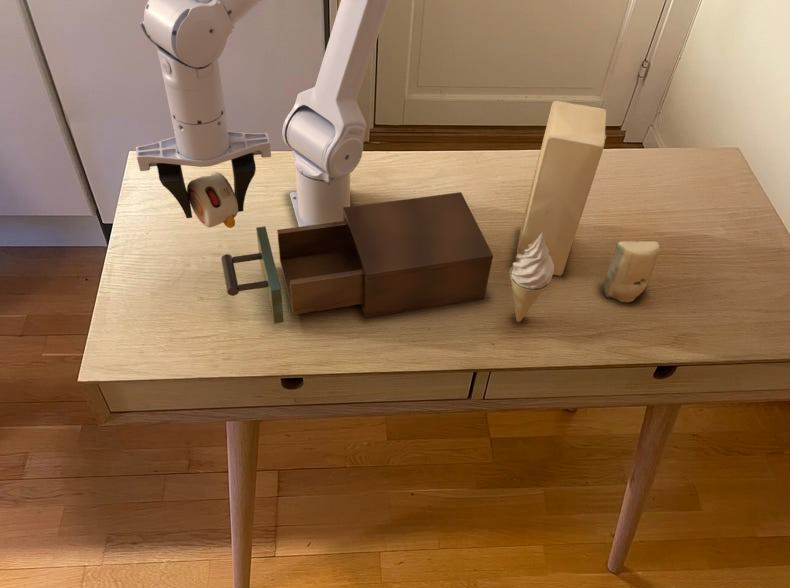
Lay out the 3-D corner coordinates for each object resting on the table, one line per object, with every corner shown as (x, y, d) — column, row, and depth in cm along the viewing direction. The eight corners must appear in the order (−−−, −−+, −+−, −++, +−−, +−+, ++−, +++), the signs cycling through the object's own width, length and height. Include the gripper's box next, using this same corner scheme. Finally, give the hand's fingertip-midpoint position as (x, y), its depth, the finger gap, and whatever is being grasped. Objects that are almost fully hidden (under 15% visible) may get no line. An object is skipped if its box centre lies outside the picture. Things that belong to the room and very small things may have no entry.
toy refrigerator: (567, 278, 102) (610, 146, 86) (514, 268, 103) (546, 135, 86) (571, 240, 107) (612, 108, 91) (520, 231, 108) (551, 98, 91)
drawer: (233, 330, 91) (228, 297, 87) (222, 266, 98) (216, 232, 94) (392, 305, 96) (394, 272, 91) (370, 245, 102) (371, 212, 98)
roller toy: (220, 198, 95) (214, 159, 90) (246, 226, 92) (241, 187, 87) (188, 210, 93) (180, 172, 88) (214, 239, 90) (207, 201, 85)
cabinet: (365, 317, 95) (366, 274, 89) (342, 251, 103) (343, 207, 97) (484, 298, 99) (493, 255, 93) (454, 235, 106) (461, 191, 100)
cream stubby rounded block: (621, 271, 104) (638, 226, 97) (652, 292, 101) (672, 247, 95) (595, 289, 101) (611, 244, 95) (626, 311, 99) (645, 267, 92)
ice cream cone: (507, 338, 94) (530, 249, 83) (493, 309, 97) (513, 219, 86) (544, 331, 95) (571, 242, 84) (529, 303, 99) (553, 213, 87)
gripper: (260, 83, 84) (269, 182, 95) (125, 95, 81) (150, 196, 92) (269, 118, 80) (278, 218, 91) (128, 133, 77) (154, 234, 88)
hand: (214, 209), depth 91 cm, fingers closed on roller toy, 5 cm apart
